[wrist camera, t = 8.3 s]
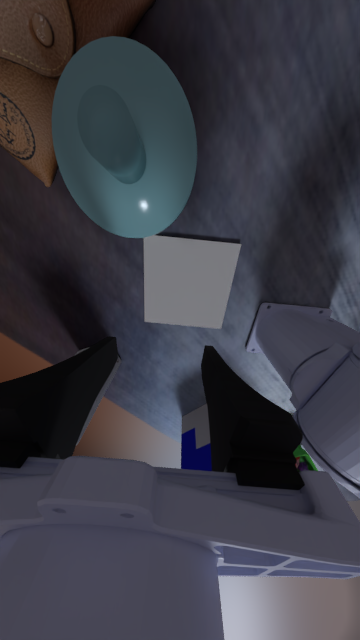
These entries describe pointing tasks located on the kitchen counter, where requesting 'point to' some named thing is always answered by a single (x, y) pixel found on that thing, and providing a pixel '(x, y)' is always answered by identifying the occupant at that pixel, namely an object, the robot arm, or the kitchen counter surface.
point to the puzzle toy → (196, 440)
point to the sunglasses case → (48, 65)
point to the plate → (187, 280)
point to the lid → (124, 137)
